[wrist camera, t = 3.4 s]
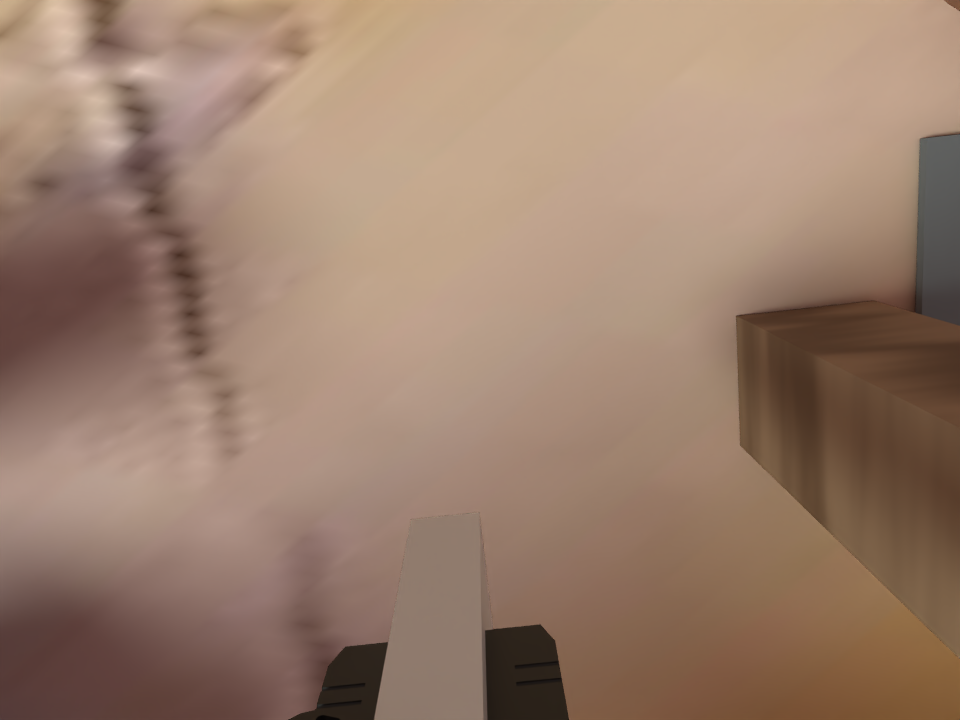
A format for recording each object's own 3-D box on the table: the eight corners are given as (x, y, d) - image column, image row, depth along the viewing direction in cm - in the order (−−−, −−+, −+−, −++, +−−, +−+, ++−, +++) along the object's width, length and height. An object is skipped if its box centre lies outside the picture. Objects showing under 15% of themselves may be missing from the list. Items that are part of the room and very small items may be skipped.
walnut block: (740, 445, 28) (992, 690, 15) (736, 315, 27) (1006, 451, 13) (872, 430, 28) (1249, 663, 15) (874, 300, 27) (1285, 420, 13)
